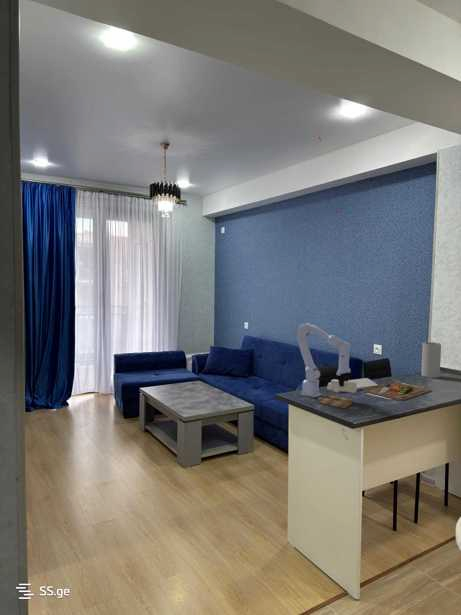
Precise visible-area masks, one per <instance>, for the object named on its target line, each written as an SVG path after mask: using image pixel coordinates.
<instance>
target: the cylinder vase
mask: <svg viewBox="0 0 461 615" xmlns="http://www.w3.org/2000/svg"><path fill="white" fill-rule="evenodd" d="M421 348H422V350H421V352H422V353H421V376H422V377H424V378H428V379H439V378H440V377H441V358H442V357H441V356H442V343H440V342H432V341H431V342H429V341H426V342H425V341H424V342H422V347H421Z"/></svg>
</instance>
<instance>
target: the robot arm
mask: <svg viewBox="0 0 461 615" xmlns="http://www.w3.org/2000/svg"><path fill="white" fill-rule="evenodd" d="M311 334H313V335H314V334H315V335H317V336H319V337H321V338H323V339H324V340H326V341H327V343H328V344H329V345H330V346H332V347H334V348H335V349H338V351H339V352H338V354H339V355H338V369H337V371H336V373H335V374H336V375H335V376H336V378H337V380H338V381H339V386H341V387H343V386H344V381H348V380H350V377H351V375H352V373H351V368H350V350H351V344H350V343H349V342H348V341H345V339H341V338H340V337H338V336H337V335H336V334H331V335H330V334H328V333H327V332H325V331H324V330H323V329H321V328H319V327H318V326H317V325H315V324H312V323H311V322H306V323H302V324H300V325H299V327H298V328H297V334H296V341H297V344H298V348H299V350H300V353H301V357H302V359H303V362H304V365H305V368H304V369H305V379H304V380H303V381H302V385H301V386H302V388H301V390H302V391H301V395H302V396H306V397H311V398H319V397H321V396H322V393H320V392H319V391H320V390H319V389H320V388H319V387H320V386H319V384H320V379H319V378H320V377H321V371H320V370H319V369H318V367H317V366H316V364H315V362H314V360H313V359H314V358H313V357H312V354H311V351H310V348H309V344H308V342H307V339H308V336H309V335H311Z"/></svg>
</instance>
